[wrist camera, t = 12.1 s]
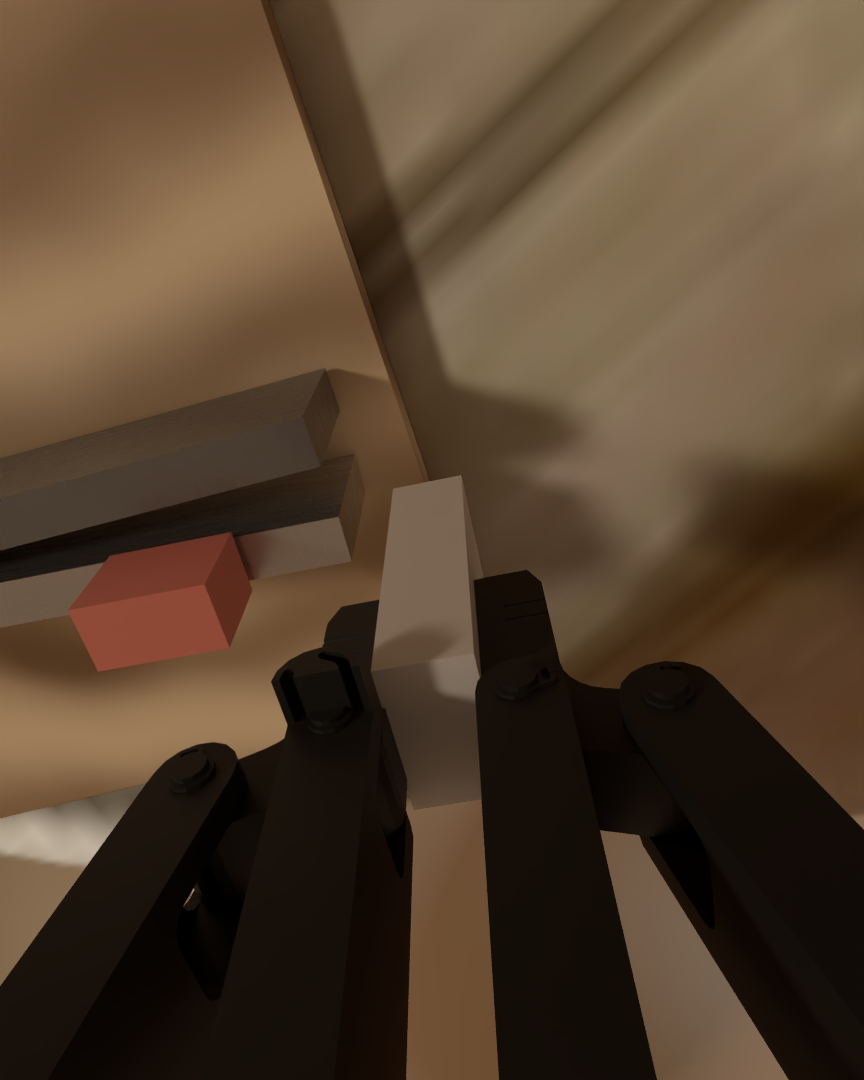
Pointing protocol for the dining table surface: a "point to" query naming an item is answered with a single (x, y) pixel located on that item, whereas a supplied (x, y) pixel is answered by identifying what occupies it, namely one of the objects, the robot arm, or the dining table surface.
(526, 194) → the dining table surface
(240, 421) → the grey lever with knob
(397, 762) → the robot arm
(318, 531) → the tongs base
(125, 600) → the tab
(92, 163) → the board
